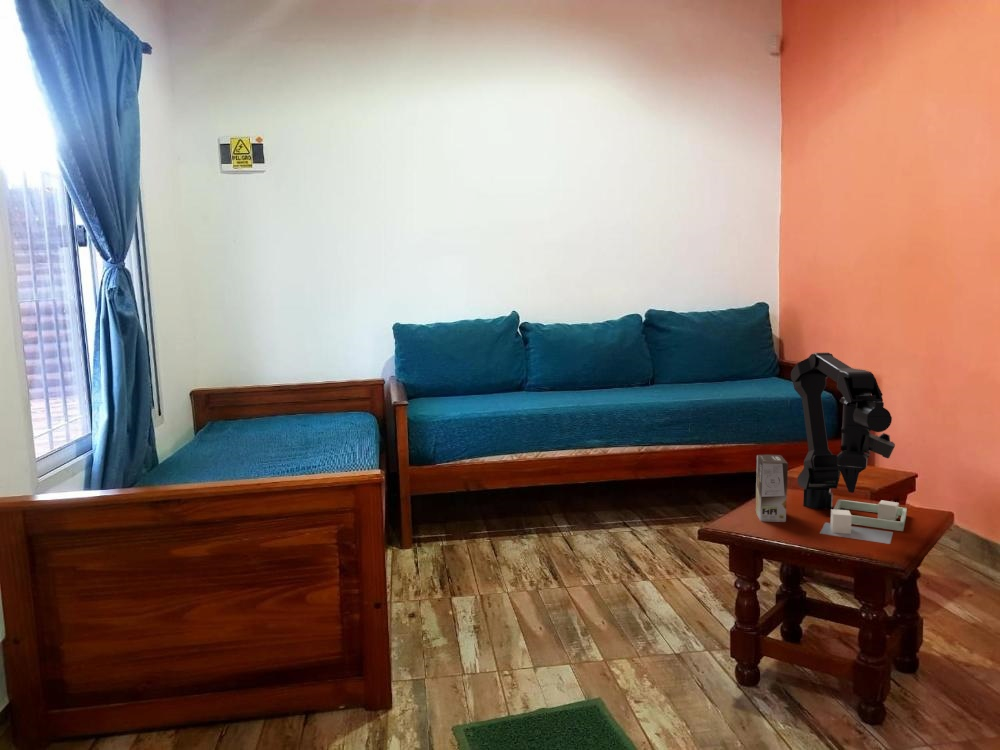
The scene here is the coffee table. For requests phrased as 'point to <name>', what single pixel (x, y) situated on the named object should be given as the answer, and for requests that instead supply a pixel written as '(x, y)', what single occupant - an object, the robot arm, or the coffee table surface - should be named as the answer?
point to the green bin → (872, 521)
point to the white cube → (840, 521)
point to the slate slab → (861, 534)
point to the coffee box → (771, 488)
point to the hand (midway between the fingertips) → (852, 487)
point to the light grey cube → (888, 510)
